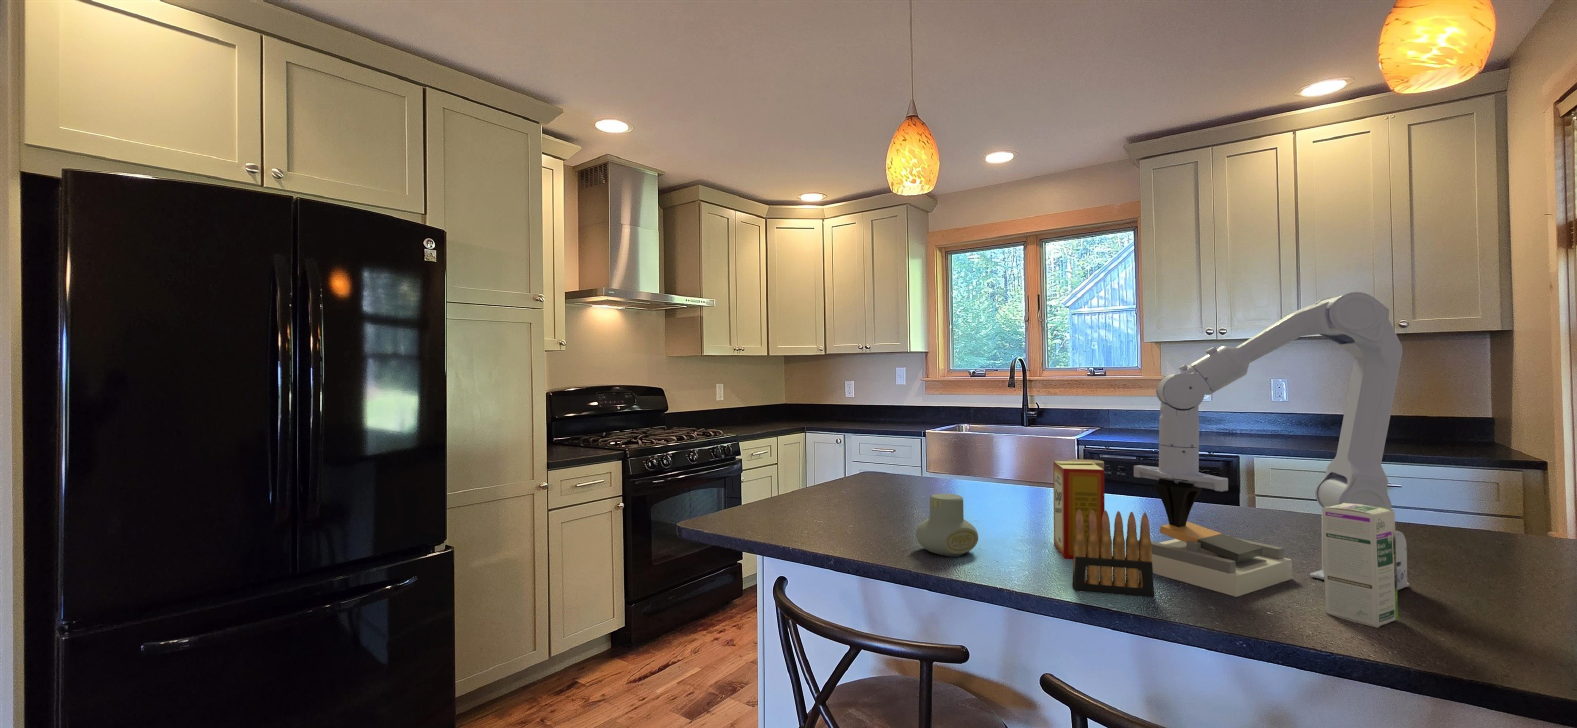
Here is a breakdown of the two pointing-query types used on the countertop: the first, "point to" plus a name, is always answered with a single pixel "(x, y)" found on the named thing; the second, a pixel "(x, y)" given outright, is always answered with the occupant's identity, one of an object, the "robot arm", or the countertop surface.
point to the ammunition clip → (1113, 557)
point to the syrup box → (1360, 563)
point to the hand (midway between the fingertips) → (1177, 526)
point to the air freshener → (947, 527)
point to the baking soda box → (1076, 501)
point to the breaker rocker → (1213, 541)
